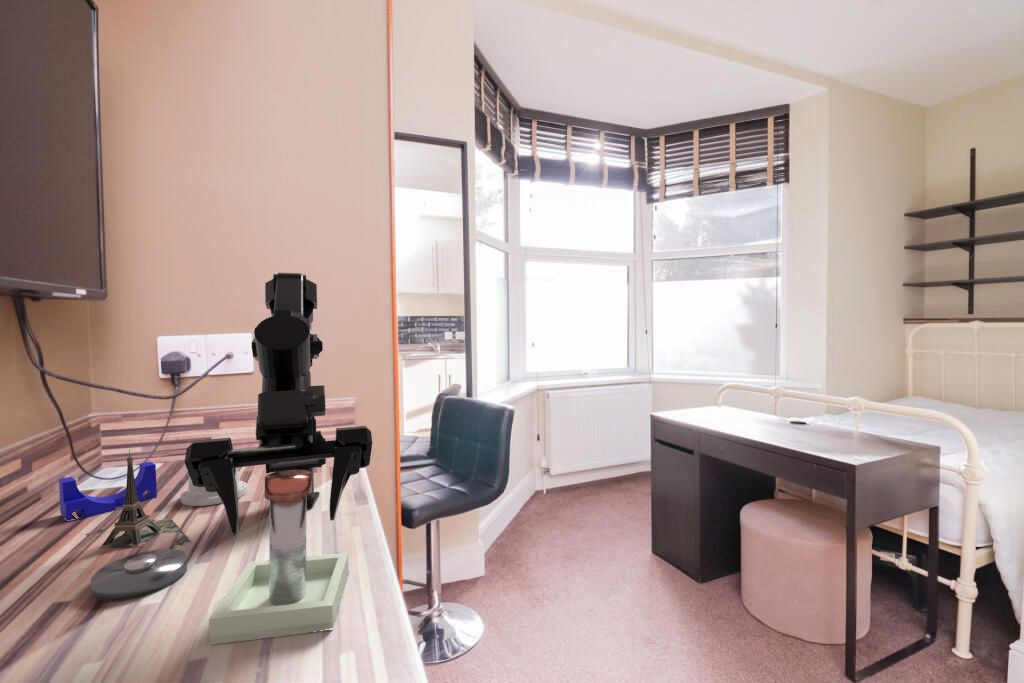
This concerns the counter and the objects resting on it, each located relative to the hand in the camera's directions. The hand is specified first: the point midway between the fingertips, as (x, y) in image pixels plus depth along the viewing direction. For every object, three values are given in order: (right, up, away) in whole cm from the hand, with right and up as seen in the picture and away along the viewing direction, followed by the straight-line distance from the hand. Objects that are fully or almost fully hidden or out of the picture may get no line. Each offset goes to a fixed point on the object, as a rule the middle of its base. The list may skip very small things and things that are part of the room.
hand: (285, 526), depth 50 cm
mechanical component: (-29, -8, +35) cm, 46 cm away
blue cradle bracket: (-43, -9, +30) cm, 53 cm away
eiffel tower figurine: (-29, -9, +18) cm, 36 cm away
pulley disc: (-20, -9, +7) cm, 23 cm away
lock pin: (-1, -8, +2) cm, 8 cm away
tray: (0, -9, +2) cm, 9 cm away
